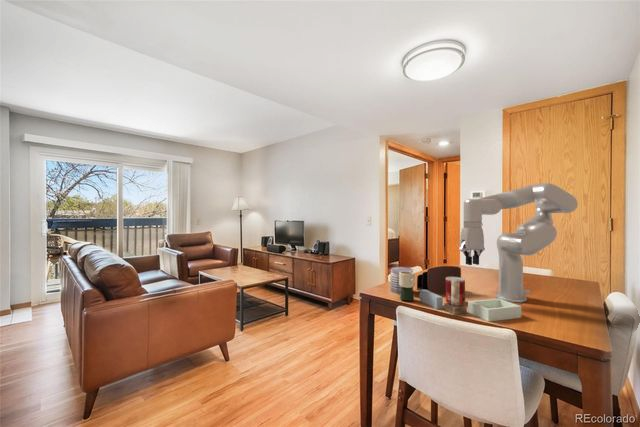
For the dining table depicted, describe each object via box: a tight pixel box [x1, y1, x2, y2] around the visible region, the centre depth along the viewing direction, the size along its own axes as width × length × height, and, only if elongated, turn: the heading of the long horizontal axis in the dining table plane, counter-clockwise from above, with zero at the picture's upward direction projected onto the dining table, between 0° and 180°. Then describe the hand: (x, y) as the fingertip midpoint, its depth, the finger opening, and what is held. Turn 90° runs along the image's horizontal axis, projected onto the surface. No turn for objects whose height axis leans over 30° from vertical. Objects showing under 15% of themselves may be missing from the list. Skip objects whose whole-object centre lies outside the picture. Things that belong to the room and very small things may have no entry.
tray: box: [467, 298, 522, 322], centre depth 111 cm, size 16×10×4 cm, turn 105°
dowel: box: [451, 280, 459, 307], centre depth 114 cm, size 3×3×13 cm
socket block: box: [443, 302, 468, 316], centre depth 114 cm, size 6×6×3 cm
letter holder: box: [416, 265, 462, 295], centre depth 144 cm, size 10×20×14 cm, turn 104°
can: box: [390, 266, 414, 295], centre depth 143 cm, size 11×11×12 cm
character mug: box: [399, 271, 416, 302], centre depth 129 cm, size 11×7×13 cm, turn 12°
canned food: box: [445, 277, 466, 305], centre depth 126 cm, size 8×8×11 cm
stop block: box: [419, 290, 444, 310], centre depth 123 cm, size 3×12×5 cm, turn 14°
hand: (472, 264), depth 128 cm, fingers open, 3 cm apart
